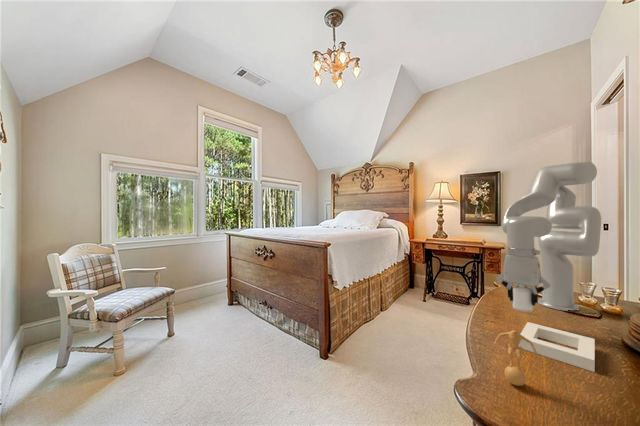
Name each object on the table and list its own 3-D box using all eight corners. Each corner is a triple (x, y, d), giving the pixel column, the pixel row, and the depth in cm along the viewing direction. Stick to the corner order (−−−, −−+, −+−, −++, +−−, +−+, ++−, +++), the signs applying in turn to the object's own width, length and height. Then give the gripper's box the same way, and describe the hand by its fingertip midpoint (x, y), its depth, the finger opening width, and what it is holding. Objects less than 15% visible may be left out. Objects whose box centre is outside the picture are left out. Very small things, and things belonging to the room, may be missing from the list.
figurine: (492, 380, 58) (492, 331, 58) (495, 368, 63) (494, 322, 63) (539, 397, 53) (538, 342, 53) (538, 382, 57) (537, 332, 57)
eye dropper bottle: (530, 313, 84) (529, 279, 84) (511, 308, 89) (510, 276, 89) (534, 310, 87) (533, 277, 86) (515, 305, 91) (514, 274, 91)
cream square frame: (527, 330, 82) (527, 321, 82) (594, 349, 70) (594, 338, 70) (518, 347, 72) (518, 337, 72) (594, 372, 61) (594, 360, 61)
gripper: (554, 253, 83) (556, 305, 84) (495, 248, 96) (496, 293, 97) (552, 257, 78) (554, 312, 79) (489, 251, 91) (491, 299, 92)
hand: (522, 301), depth 88 cm, fingers closed on eye dropper bottle, 5 cm apart
